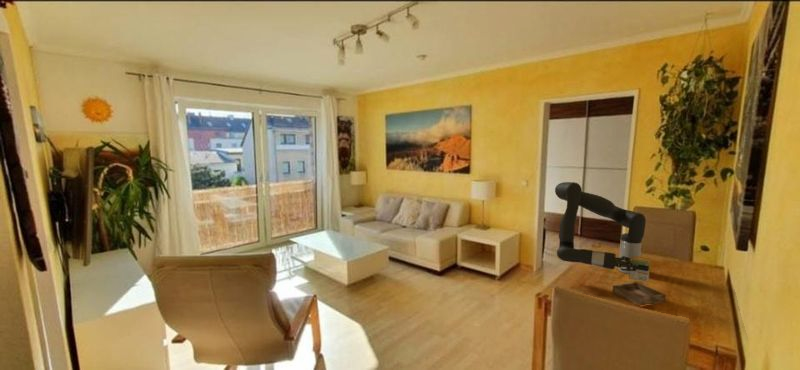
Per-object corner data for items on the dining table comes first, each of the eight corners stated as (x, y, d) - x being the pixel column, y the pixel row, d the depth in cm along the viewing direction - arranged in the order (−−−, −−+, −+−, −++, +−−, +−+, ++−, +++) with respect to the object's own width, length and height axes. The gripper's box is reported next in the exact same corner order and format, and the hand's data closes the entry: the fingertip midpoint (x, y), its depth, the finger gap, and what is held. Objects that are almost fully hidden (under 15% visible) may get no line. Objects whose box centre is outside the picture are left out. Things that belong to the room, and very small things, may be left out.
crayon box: (648, 280, 149) (651, 256, 147) (648, 282, 147) (651, 258, 145) (628, 276, 153) (631, 253, 151) (628, 279, 151) (631, 255, 149)
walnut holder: (635, 288, 160) (635, 281, 159) (665, 301, 146) (665, 294, 146) (612, 292, 156) (612, 285, 155) (641, 307, 143) (641, 299, 142)
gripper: (603, 256, 150) (650, 264, 141) (604, 247, 162) (648, 254, 152) (601, 272, 152) (648, 281, 142) (603, 262, 163) (646, 269, 153)
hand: (648, 267), depth 147 cm, fingers closed on crayon box, 3 cm apart
